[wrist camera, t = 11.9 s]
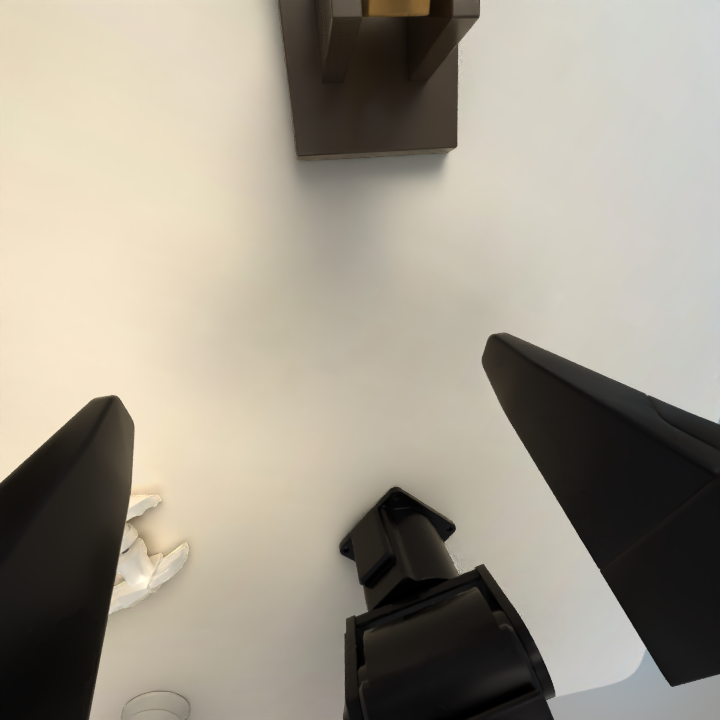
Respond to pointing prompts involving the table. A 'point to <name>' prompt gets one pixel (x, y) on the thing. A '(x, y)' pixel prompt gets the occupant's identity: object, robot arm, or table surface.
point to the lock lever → (395, 8)
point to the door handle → (142, 561)
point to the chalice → (156, 707)
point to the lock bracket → (372, 78)
